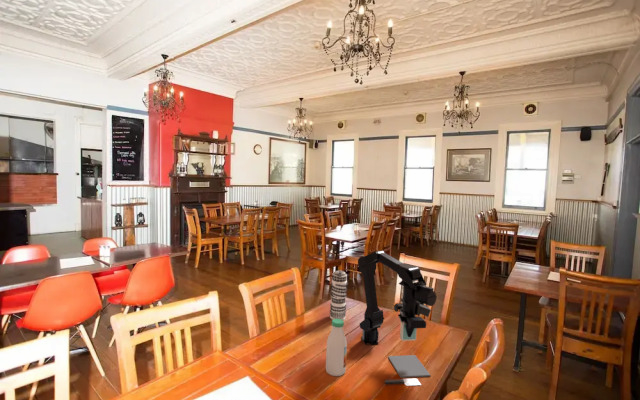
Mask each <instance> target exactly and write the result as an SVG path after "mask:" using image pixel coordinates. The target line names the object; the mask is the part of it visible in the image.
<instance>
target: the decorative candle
mask: <svg viewBox="0 0 640 400" xmlns="http://www.w3.org/2000/svg"><path fill="white" fill-rule="evenodd" d="M331 274H332V279H331V283H330V297H331V300H330V307H329V308H330V309H329V318H330V319H331V320H333V319H341V320H343V321H344V320H346V316H347V313H346V312H347V311H346V310H347V303H346V301H347V300H346V299H347V296H348V294H347V293H348V286H349V285H348V281H347V278H348V277H347V276H348V274H347V273H346V272H345V271H344V270H335V271H333V273H331Z"/></svg>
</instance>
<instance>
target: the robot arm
mask: <svg viewBox="0 0 640 400" xmlns="http://www.w3.org/2000/svg"><path fill="white" fill-rule="evenodd" d="M378 263H381V264H382V265H383V266H385V267H387V268H388V269H390V270H391V271H393V272H394V273H396V274H397V275H398V277H399V278H400V279H401V281H400V282H398V284H399V285H400V286H402V287H403V288H402V297H401V298H400V302H397V303H395V304H394V305H393V310H394V312H396V313H398V312H399V314H398V318H399V320H400V323H401V322H404V324H405V328H406V332H407V335H408V337H411V335H412V333H413V330H414V328H417V329H426V328H427V321H426V320H425V319H424V318H423V317H421V315H422V316H425V317H426V318H429V316H430V314H431V312H432V309H431V308H430V307H433V306H434V305H435V304H436V301H437V294H436V292H435V291H434V289H435V288H434V287H431V286H427V283H426V281H425V278H424V276H423V275H422V272H421V269H420V267H418V266H416V265H413V264H408V263H404V262H402V261H400V260H399V259H396V258H395V257H392V256H391V255H389V254H387V253H386V252H385V251H384V250H376V251H373V252H371V253H370V254H366V255H363V256H360V257H358V259H357V265H358V269H359V272H360V273H361V274H362V277H363V284H364V285H363V287H364V295H365V303H366V309H365V311H364V313H363V314H364V316H363V318H364V319H363V320H362V321H361V322H359V328H360V329H361V330H362V332H361V333H362V335H361V337H360V338H361V341H362V342H363V344H364V345H379V342H378V341H379V333H380V332H379V331H378V329H380V328H381V327H382V325H383V324H384V320H385V317H384V311H383V310H381V309H380V307H379V306H378V299H377V297H378V296H377V290H376V288H377V287H376V281H375V273H376V270H377V264H378Z"/></svg>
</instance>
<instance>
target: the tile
mask: <svg viewBox="0 0 640 400" xmlns="http://www.w3.org/2000/svg"><path fill="white" fill-rule="evenodd" d="M417 330H418V328H414V330H413V333H412V335H411V337H408V335H407V332H406V328H405V324H404V322H401V321H400V330H399V331H400V334H399V336H400V337H399V340H401V341H402V342H407V341H408V342H409V341H417Z"/></svg>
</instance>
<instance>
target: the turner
mask: <svg viewBox="0 0 640 400" xmlns="http://www.w3.org/2000/svg"><path fill="white" fill-rule="evenodd" d="M384 384H385V385H386V386H388V385H404V386H405V387H417V386H418V387H420V386H422V384H421V382H420V381H419V379H418V377H410V378H399V379H398V378H397V379H385V380H384Z"/></svg>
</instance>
